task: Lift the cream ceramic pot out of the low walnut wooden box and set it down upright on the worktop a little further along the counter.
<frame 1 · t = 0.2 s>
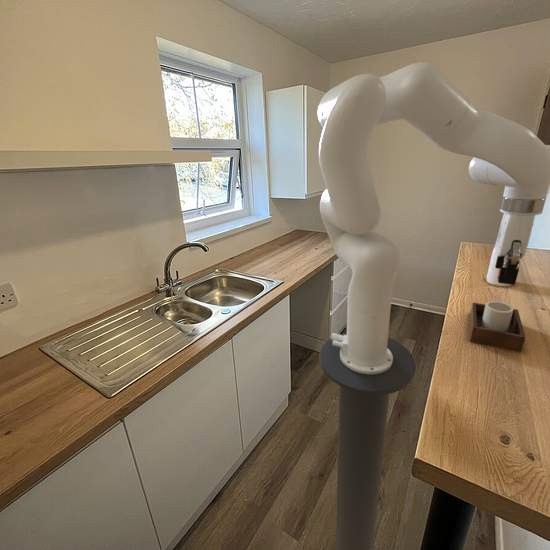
hand: (504, 275, 74), 17 cm above the table, tool pointing down, fingers open, 9 cm apart
milk bottle: (498, 282, 108), on the table
wooden box: (492, 331, 82), on the table
cream pot: (493, 329, 81), point 1 cm above the table, touching wooden box
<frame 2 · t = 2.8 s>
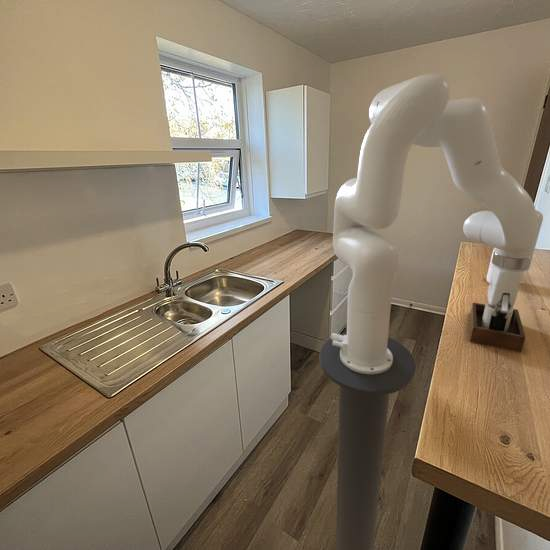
hand: (495, 322, 80), 3 cm above the table, tool pointing down, fingers closed on cream pot, 6 cm apart
cream pot: (493, 329, 81), point 1 cm above the table, touching gripper, wooden box
everything else where it was.
when the fingers open (2 cm above the table, at t = 10.2 s): cream pot stays where it is, on the table.
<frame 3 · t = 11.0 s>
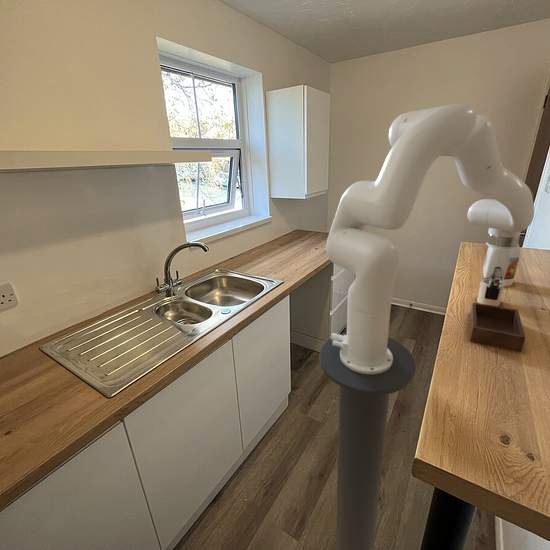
hand: (489, 292, 94), 4 cm above the table, tool pointing down, fingers open, 9 cm apart
cream pot: (488, 302, 96), on the table
everything else where it was.
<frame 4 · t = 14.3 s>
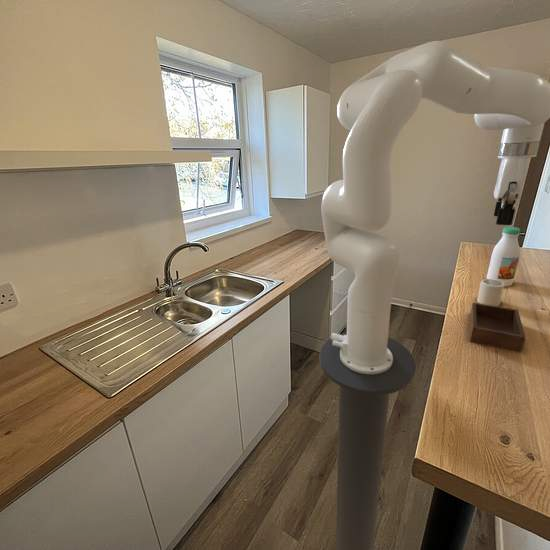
hand: (501, 220, 80), 28 cm above the table, tool pointing down, fingers open, 9 cm apart
nothing on the table moved.
at the end: cream pot inside the target area (0.1 cm from its centre), on the table; cream pot tilted 0°; the gripper is holding nothing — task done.
